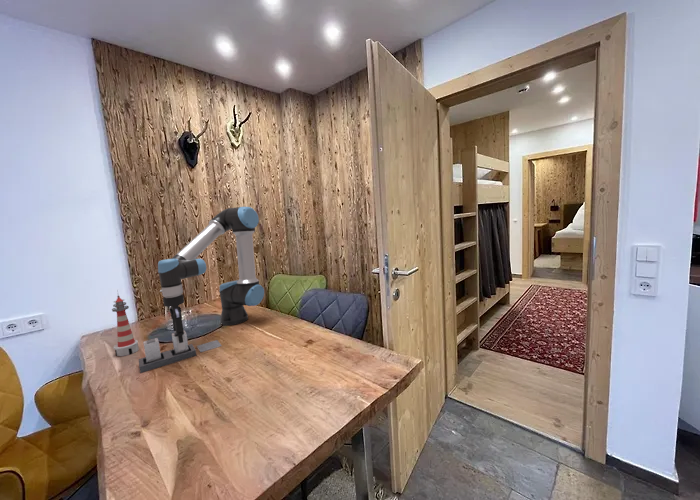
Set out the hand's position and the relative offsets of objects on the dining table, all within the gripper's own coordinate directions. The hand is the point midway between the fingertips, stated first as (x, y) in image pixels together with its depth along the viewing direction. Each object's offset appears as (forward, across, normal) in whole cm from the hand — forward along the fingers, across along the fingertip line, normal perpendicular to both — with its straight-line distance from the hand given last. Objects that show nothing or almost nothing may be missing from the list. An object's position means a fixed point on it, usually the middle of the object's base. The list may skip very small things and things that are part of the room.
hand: (181, 347), depth 127 cm
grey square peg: (+4, 0, 0) cm, 4 cm away
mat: (+5, -2, +11) cm, 12 cm away
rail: (+4, 0, -5) cm, 7 cm away
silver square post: (+4, 0, -10) cm, 11 cm away
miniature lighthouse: (+5, -26, -19) cm, 33 cm away
